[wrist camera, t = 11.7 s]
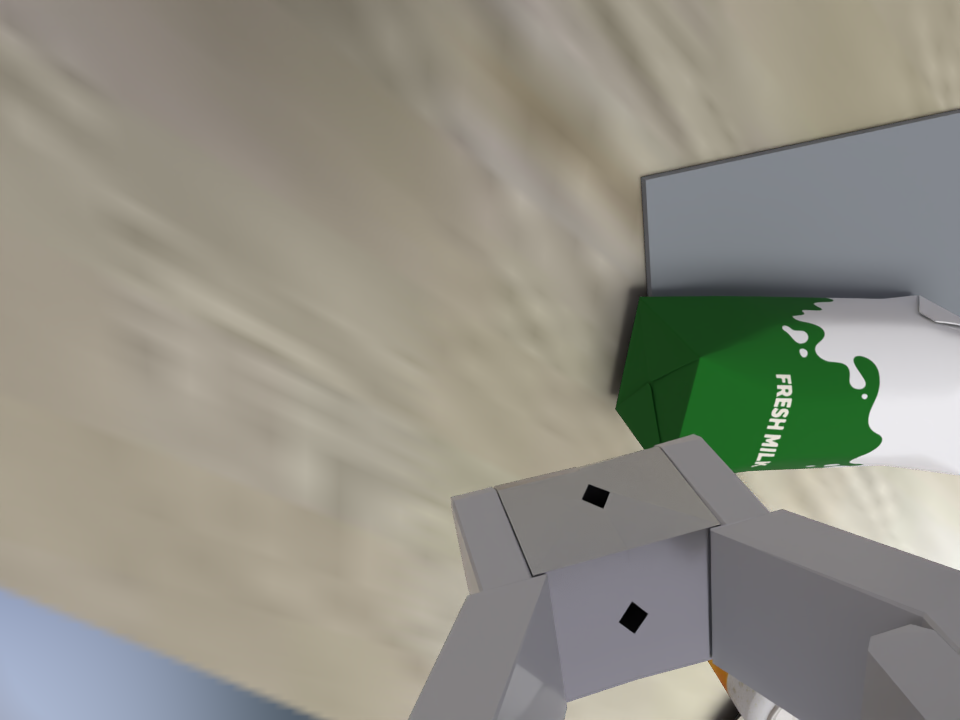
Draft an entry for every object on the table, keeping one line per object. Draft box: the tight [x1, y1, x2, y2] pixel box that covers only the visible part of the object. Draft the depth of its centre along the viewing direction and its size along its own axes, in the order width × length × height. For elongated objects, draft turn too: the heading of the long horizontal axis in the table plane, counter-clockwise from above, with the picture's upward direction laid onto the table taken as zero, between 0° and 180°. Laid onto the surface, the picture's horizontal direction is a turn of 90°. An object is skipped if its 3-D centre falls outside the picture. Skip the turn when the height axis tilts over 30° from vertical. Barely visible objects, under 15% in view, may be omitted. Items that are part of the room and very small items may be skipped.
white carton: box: [615, 295, 960, 475], centre depth 43 cm, size 9×9×20 cm
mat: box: [641, 109, 960, 317], centre depth 46 cm, size 16×22×1 cm
